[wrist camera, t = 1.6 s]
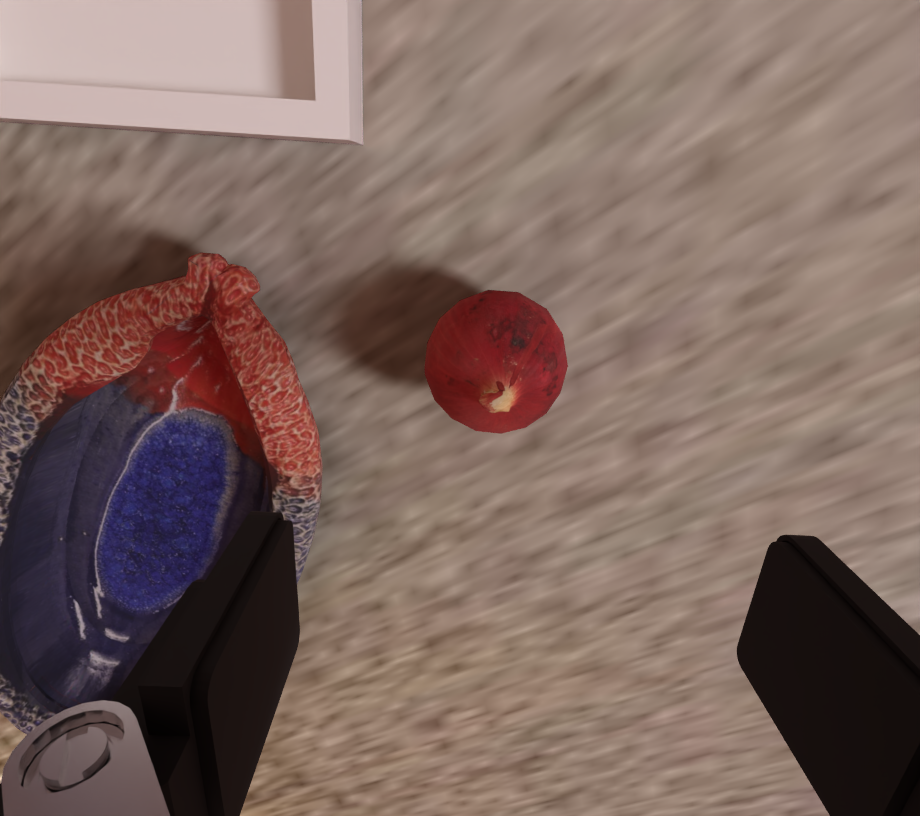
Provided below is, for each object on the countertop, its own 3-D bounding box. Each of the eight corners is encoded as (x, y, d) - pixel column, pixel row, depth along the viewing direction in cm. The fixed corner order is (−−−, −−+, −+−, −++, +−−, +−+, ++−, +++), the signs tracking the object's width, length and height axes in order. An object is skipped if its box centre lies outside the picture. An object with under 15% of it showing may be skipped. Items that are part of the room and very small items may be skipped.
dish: (-32, 640, 34) (-110, 714, 29) (116, 169, 24) (32, 167, 19) (208, 729, 37) (172, 809, 32) (432, 345, 27) (426, 380, 22)
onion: (468, 253, 25) (471, 284, 17) (575, 314, 26) (621, 368, 18) (409, 361, 27) (389, 431, 19) (511, 414, 28) (530, 499, 20)
